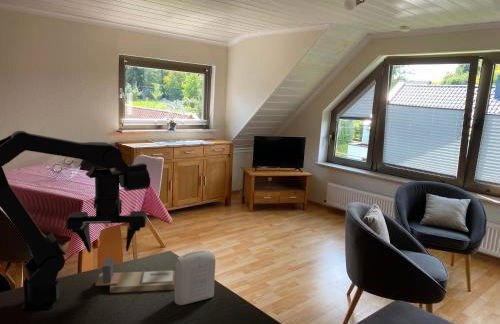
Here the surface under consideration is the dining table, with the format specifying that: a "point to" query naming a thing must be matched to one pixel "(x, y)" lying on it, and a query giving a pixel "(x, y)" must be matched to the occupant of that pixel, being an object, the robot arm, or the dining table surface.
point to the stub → (108, 274)
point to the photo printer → (194, 277)
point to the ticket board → (144, 281)
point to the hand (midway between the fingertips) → (108, 251)
